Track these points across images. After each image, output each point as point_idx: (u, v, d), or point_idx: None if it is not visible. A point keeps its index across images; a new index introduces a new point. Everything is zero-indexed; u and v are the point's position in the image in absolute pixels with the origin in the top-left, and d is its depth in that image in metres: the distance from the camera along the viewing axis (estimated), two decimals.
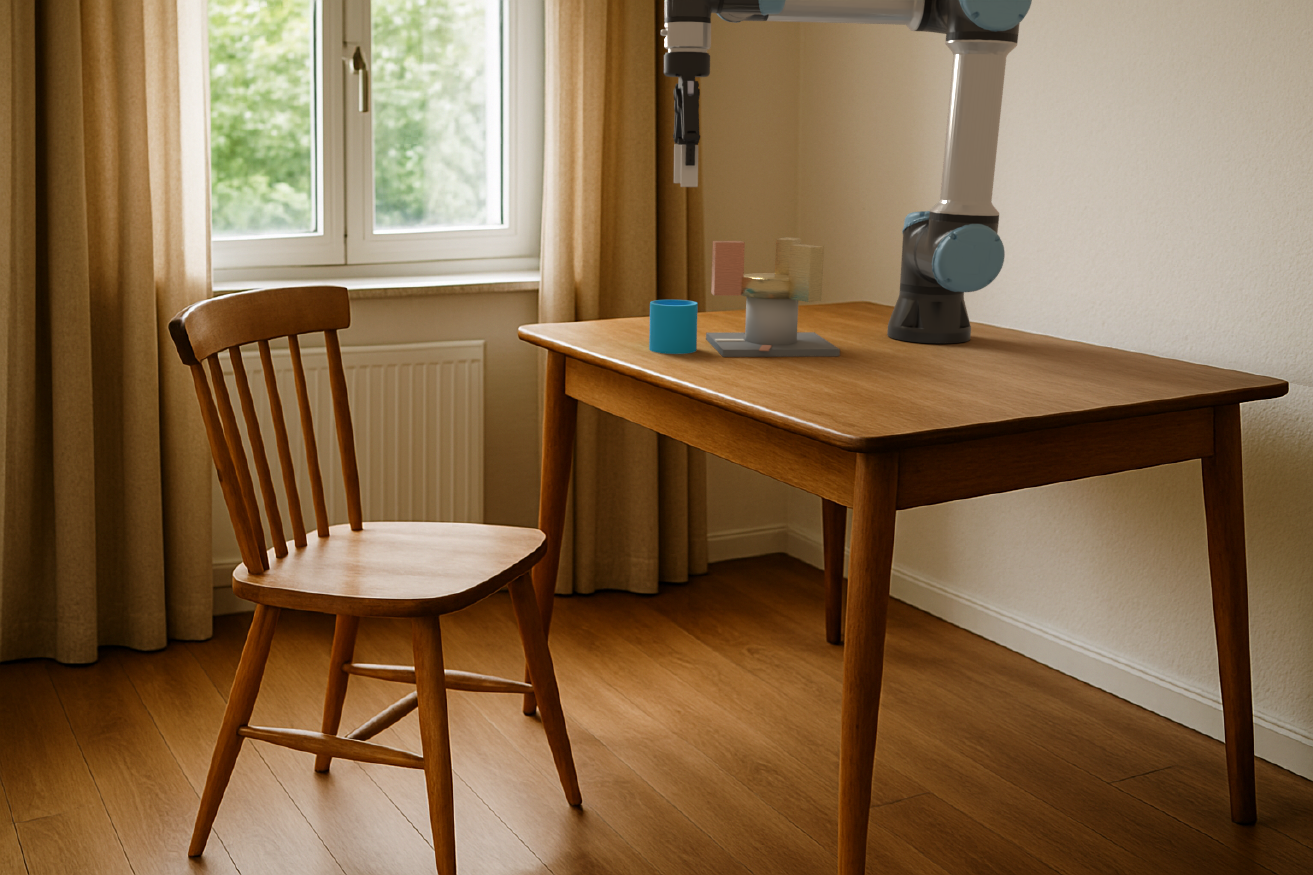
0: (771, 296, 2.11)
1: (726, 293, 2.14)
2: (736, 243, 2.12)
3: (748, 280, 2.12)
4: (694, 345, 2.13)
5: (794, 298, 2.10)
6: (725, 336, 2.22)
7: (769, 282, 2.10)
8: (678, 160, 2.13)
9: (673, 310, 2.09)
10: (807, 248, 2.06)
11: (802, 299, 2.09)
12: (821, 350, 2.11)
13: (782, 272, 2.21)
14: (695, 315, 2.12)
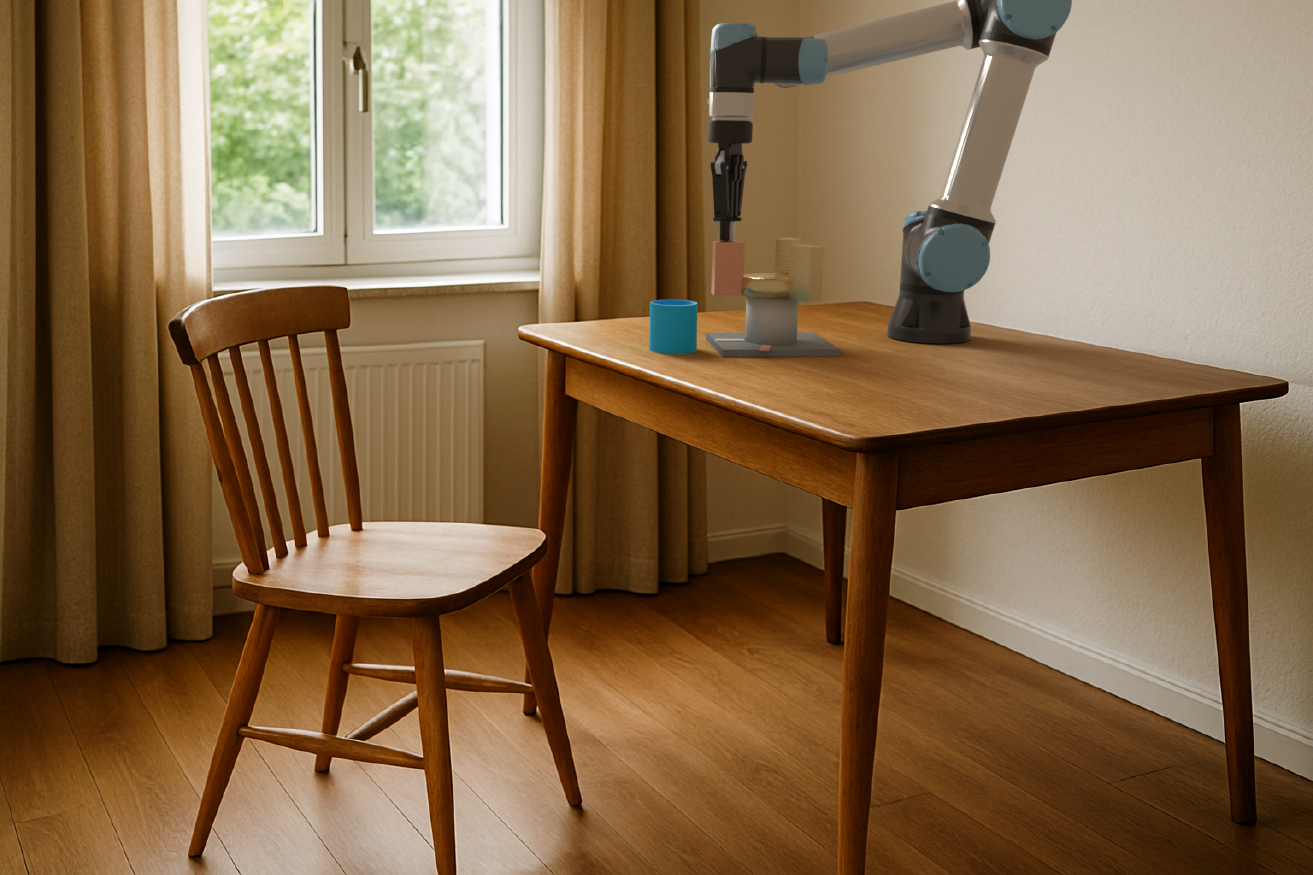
0: (771, 296, 2.11)
1: (726, 293, 2.14)
2: (736, 243, 2.12)
3: (748, 280, 2.12)
4: (694, 345, 2.13)
5: (794, 298, 2.10)
6: (725, 336, 2.22)
7: (769, 282, 2.10)
8: None
9: (673, 310, 2.09)
10: (807, 248, 2.06)
11: (802, 299, 2.09)
12: (821, 350, 2.11)
13: (782, 272, 2.21)
14: (695, 315, 2.12)
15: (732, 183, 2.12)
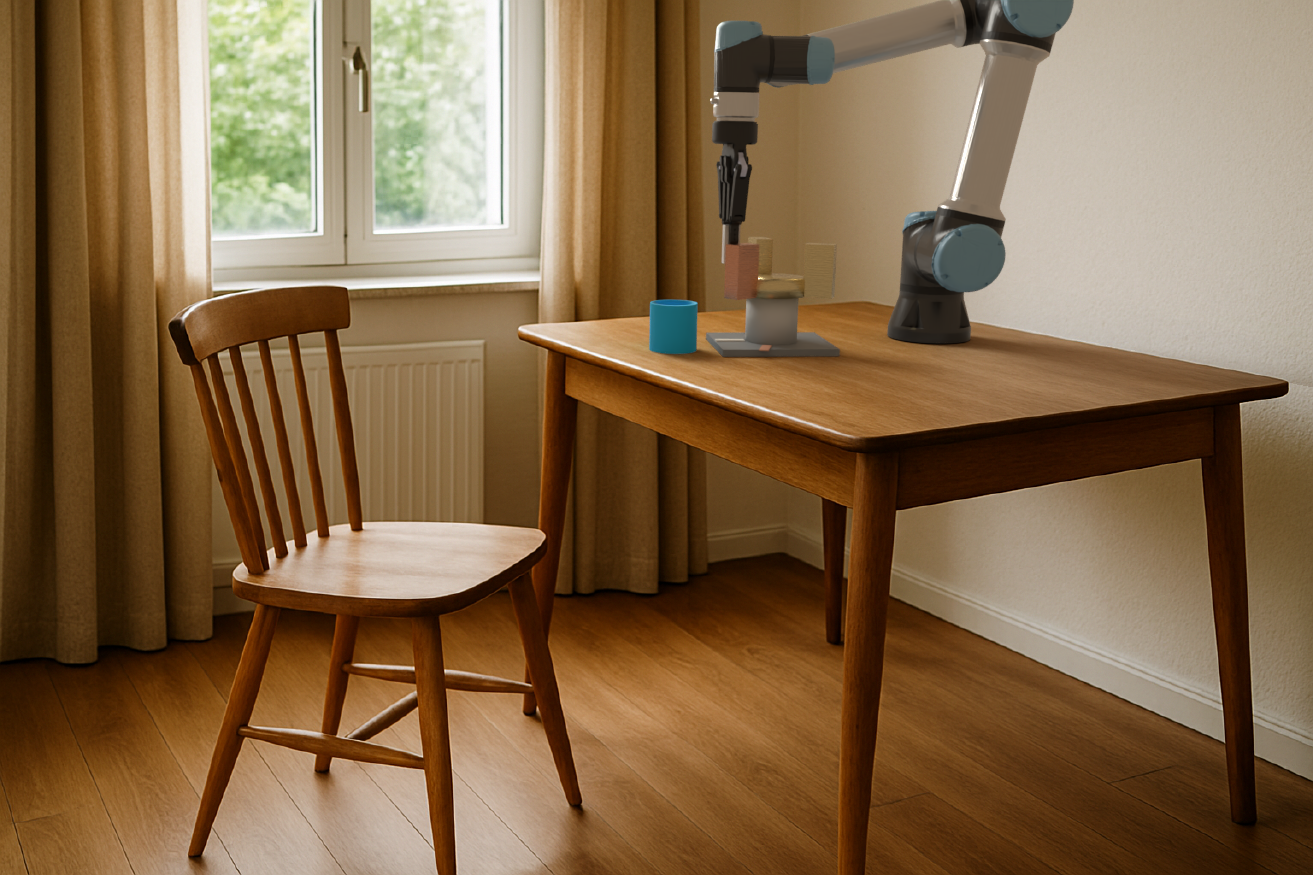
0: (792, 296, 2.11)
1: (745, 297, 2.10)
2: (753, 245, 2.09)
3: (768, 282, 2.10)
4: (694, 345, 2.13)
5: (811, 296, 2.13)
6: (725, 336, 2.22)
7: (791, 282, 2.11)
8: None
9: (673, 310, 2.09)
10: (829, 246, 2.10)
11: (823, 296, 2.13)
12: (821, 350, 2.11)
13: (763, 272, 2.21)
14: (695, 315, 2.12)
15: None
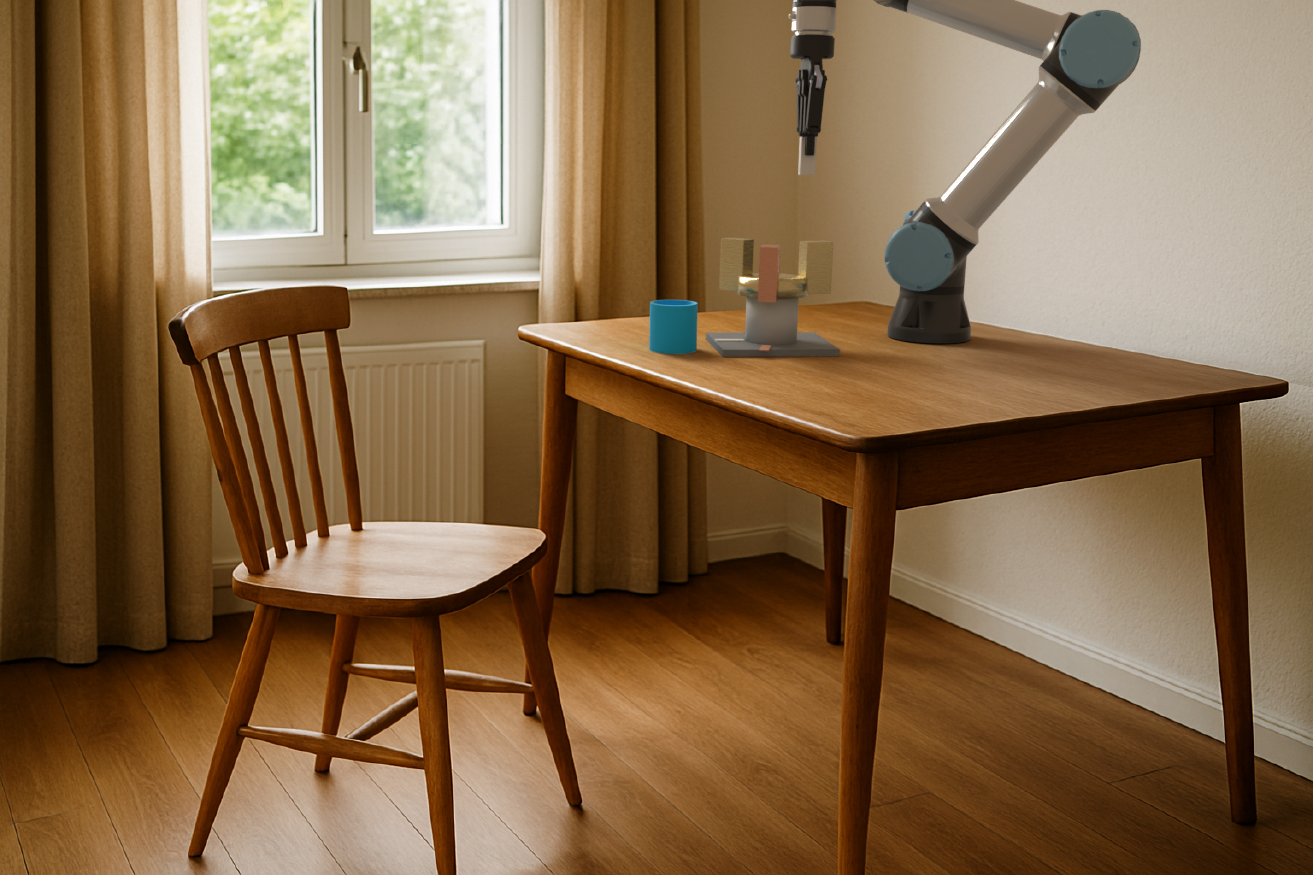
0: (805, 294, 2.14)
1: (777, 298, 2.08)
2: (779, 246, 2.08)
3: (790, 282, 2.11)
4: (694, 345, 2.13)
5: (813, 293, 2.18)
6: (725, 336, 2.22)
7: (805, 281, 2.13)
8: None
9: (673, 310, 2.09)
10: (829, 243, 2.16)
11: (823, 292, 2.18)
12: (821, 350, 2.11)
13: (747, 272, 2.19)
14: (695, 315, 2.12)
15: None
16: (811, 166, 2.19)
